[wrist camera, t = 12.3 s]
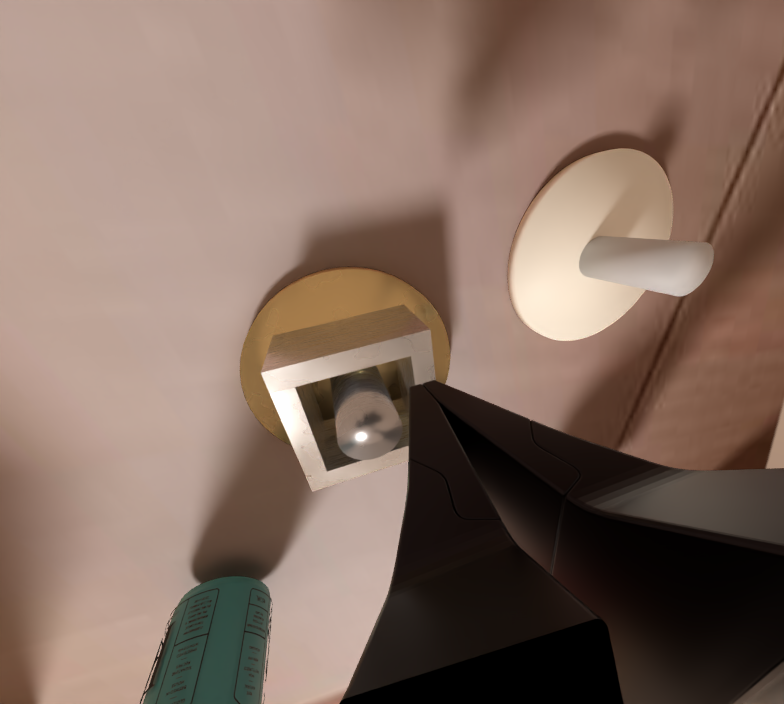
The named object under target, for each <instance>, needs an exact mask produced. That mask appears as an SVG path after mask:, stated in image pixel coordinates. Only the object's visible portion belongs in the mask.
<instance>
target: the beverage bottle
mask: <svg viewBox="0 0 784 704" xmlns="http://www.w3.org/2000/svg"><path fill="white" fill-rule="evenodd" d="M271 601H272V600H271V598H270V593H269V589H268V587H267V586H266V585H265V584H264V583H262V582H261V581H259V580H257V579H254V578H250V577H243V576H230V577H223V578H218V579H214V580H211V581H208V582H205V583H203V584H200V585H198V586H196V587H195V588H193V589H192V590H190V591H189V592H188V593H187V594H185V595H184V597H183V598H182V599H181V601H180V602H179V604H178V606H177V607H176V608H175V609H174V610H175V611H174V610H173V611H174V614H173V616H172V618H170V619H171V622H170V621H169V620H168V623H167V624H168V626H169V627H168V628H167V629H168V631H167V633H166V631H165V633H166V636H165V640H164V643H163V642H162V641H161V643H162V649H161V652H160V655H159V657H157V656H158V652H159V649H160V646H161V644H160V646H159V649H158V652H157V655H156V658H155V661H154V664H155V662H156V660H157V659H158V661H157V664H156V667H155V670H154V673H153V676H152V678H151V681H150V684H149V687H148V689H147V690H146V692H147V693H146V692H145V690H144V693H143V696H144V694H145V693H146V696H145V699H144V702H143V704H261V702H262V691H263V680H264V669H265V658H266V648H267V637H268V636H269V630H270V631H271V625H270V628H269V630H268V626H269V622H271V618H272V615H271V617H270V621H269V616H270V614H271V613H270V604H271ZM272 605H273V604H272ZM272 607H273V606H272ZM271 610H272V609H271ZM271 612H272V611H271ZM171 614H172V613H171ZM169 622H170V625H169ZM269 642H270V637H269ZM268 654H269V648H268ZM154 664H153V667H154ZM267 665H268V660H267V663H266V677H267ZM153 667H152V670H153ZM152 670H151V672H152ZM150 675H151V673H150ZM150 675H149V678H150ZM149 678H148V681H149ZM148 681H147V684H148ZM265 681H266V680H265ZM147 684H146V686H147ZM145 689H146V687H145ZM143 696H142V698H143ZM264 697H265V695H264ZM264 700H265V699H264ZM141 701H142V699H141ZM141 701H140V704H141Z"/></svg>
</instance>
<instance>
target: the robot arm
mask: <svg viewBox="0 0 784 704" xmlns="http://www.w3.org/2000/svg"><path fill="white" fill-rule="evenodd" d="M408 460H409V462H408V486H407V495H406V503H405V510H404V516H403V522H402V528H401V533H400V539H399V545H398V551H397V557H396V562H395V567H394V572H393V576H392V581H391V584H390V588H389V591H388V595H387V598H386V600H385V602H384V605H383V607H382V609H381V612H380V614H379V616H378V619H377V621H376V623H375V626H374V628H373V630H372V633H371V635H370V637H369V640H368V642H367V644H366V647H365V649H364V651H363V654H362V656H361V658H360V661H359V663H358V665H357V668H356V670H355V672H354V674H353V677H352V679H351V681H350V684H349V686H348V688H347V690H346V692H345V694H344V696H343V698H342V700H341V702H340V703H339V704H784V468H780V469H744V470H710V471H697V470H685V469H678V468H672V467H668V466H663V465H660V464H656V463H653V462H650V461H647V460H644V459H641V458H638V457H634V456H631V455H628V454H625V453H622V452H619V451H616V450H613V449H610V448H607V447H604V446H601V445H598V444H595V443H592V442H589V441H586V440H583V439H580V438H577V437H575V436H572V435H569V434H566V433H563V432H561V431H558V430H556V429H553V428H551V427H548V426H545V425H543V424H540V423H538V422H536V421H533V420H531V421H530V419H528V418H526V417H523V416H521V415H518V414H516V413H514V412H511V411H509V410H506V409H504V408H501V407H499V406H497V405H494V404H492V403H489V402H487V401H484V400H482V399H480V398H477V397H475V396H472V395H470V394H467V393H465V392H462V391H460V390H458V389H455V388H453V387H450V386H448V385H445V384H443V383H441V382H438V381H436V380H432V381H429V382H425V383H423V384H418V385H415V386H411V387H410V388H409V452H408Z"/></svg>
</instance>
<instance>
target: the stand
mask: <svg viewBox="0 0 784 704" xmlns="http://www.w3.org/2000/svg"><path fill="white" fill-rule="evenodd" d="M672 223H673V197H672V191H671V187H670V184H669V180H668V178H667V176H666V174H665V172H664V170H663V169H662V167H661V166H660V165H659V164H658V162H657V161H655V160H654V159H653V158H652V157H651V156H649V155H647V154H645V153H643V152H642V151H638V150H634V149H626V148H619V149H612V150H607V151H602V152H598V153H594V154H591V155H588V156H585V157H583V158H581V159H579V160H577V161H575V162H573V163H571V164H570V165H568V166H567V167H565V168H564V169H562V170H561V171H560V172H559V173H557V174H556V175H555V176H554V177H553V178H552V179H551V180H550V181H549V182H548V183H547V184H546V185H545V186H544V187H543V188H542V189H541V190H540V192H539V193H538V194H537V196H536V197H535V198H534V200H533V201H532V203H531V204H530V206H529V207H528V209H527V211H526V212H525V214H524V216H523V218H522V220H521V222H520V224H519V226H518V229H517V231H516V234H515V237H514V240H513V243H512V247H511V251H510V255H509V262H508V275H507V280H508V290H509V295H510V300H511V302H512V305H513V308H514V310H515V312H516V313H517V315H518V317H519V318H520V319H521V320H522V322H523V323H524V324H525V325H526V326H528V327H529V328H530V329H532V330H533V331H535V332H537V333H539V334H541V335H543V336H545V337H547V338H550V339H553V340H559V341H572V340H578V339H582V338H586V337H589V336H591V335H594V334H596V333H598V332H600V331H602V330H604V329H605V328H607V327H608V326H610V325H611V324H613V323H614V322H615V321H617V320H618V319H619V318H620V317H622V316H623V315H624V314H625V313H626V312H627V311H628V310H629V309H630V308H631V307H632V306H633V305H634V304H635V303H636V301H637V300H638V299H639V298H640V297H641V295H642V294H643V293H644V291H645V290H650V291H655V292H660V293H664V294H669V295H674V296H684V295H687V294H689V293H691V292H692V291H694V290H695V289H696V288H697V287H698V286H699V285H700V284H701V283H702V282H703V281H704V279H705V278H706V276H707V275H708V273H709V271H710V269H711V267H712V264H713V260H714V250H713V248H712V246H711V245H710V244H709V243H706V242H692V241H676V240H669V238H670V234H671V229H672Z"/></svg>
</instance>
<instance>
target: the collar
mask: <svg viewBox="0 0 784 704" xmlns="http://www.w3.org/2000/svg"><path fill="white" fill-rule="evenodd" d="M394 360H395V362H396V367H397V373H398V379H399V384H400V390H401V396H402V398H400V399H397V400H393V401H392V402H393V404H394V406H395V408H396V411H397V413H398V415H399V417H400V420H401V422H402V427H403V430H402V435H401V438H400V440H399V442H398V443H397V445H396V446H395V447H394V448H393V449H392V450H391V451H389V452H388V453H387V454H385V455H383V456H381V457H378V458H375V459H370V460H358V459H354V458H351V457H349V456H347V455H346V454H344V453H343V452H342V450H341V449H340V447H339V445H338V442H337V433H336V425H335V418H331V419H328V420H325V421H324V420H323V417H322V414H321V411H320V409H319V406H318V403H317V400H316V397H315V394H314V391H313V388H312V385H311V383H312V382H316V381H320V380H323V379H327V378H331V377H335V376H338V375H342V374H346V373H349V372H353V371H357V370H361V369H364V368H368V367H372V366H376V365H379V364H383V363H387V362H390V361H394ZM261 375H262V377H263V379H264V382H265V384H266V386H267V389H268V391H269V393H270V395H271V398H272V400H273V402H274V405H275V407H276V409H277V412H278V414H279V416H280V419H281V421H282V423H283V425H284V428H285V430H286V432H287V435H288V437H289V439H290V442H291V444H292V446H293V449H294V451H295V453H296V456H297V458H298V460H299V462H300V465H301V467H302V469H303V472H304V474H305V476H306V479H307V481H308V483H309V486H310V488H311V490H312V492H314V491H317V490H320V489H323V488H326V487H329V486H332V485H335V484H338V483H341V482H344V481H347V480H350V479H353V478H356V477H360V476H363V475H366V474H369V473H372V472H375V471H378V470H381V469H384V468H387V467H390V466H393V465H396V464H399V463H402V462H406V461H409V460H408V452H409V388H410V387H411V386H415V385H418V384H423V383H425V382H429V381H432V380H436V377H435V368H434V358H433V349H432V340H431V331H430V329H429V328H428V327H427V326H426V325H425V324H424V323H423V322H422V321H421V320H420V319H419V318H418V317H417V316H416V315H414V314H413V313H412V312H411V311H410V310H409V309H408V308H407V307H406V306H405V305H404V304H403V305H399V306H395V307H391V308H386V309H382V310H378V311H374V312H370V313H365V314H361V315H357V316H353V317H349V318H345V319H340V320H336V321H332V322H328V323H324V324H319V325H315V326H311V327H307V328H303V329H298V330H294V331H290V332H286V333H282V334H277V335H273V336H272V340H271V343H270V346H269V349H268V352H267V355H266V358H265V361H264V364H263V367H262V370H261Z"/></svg>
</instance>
